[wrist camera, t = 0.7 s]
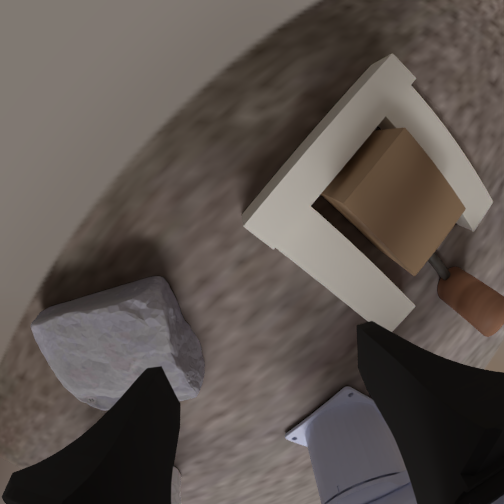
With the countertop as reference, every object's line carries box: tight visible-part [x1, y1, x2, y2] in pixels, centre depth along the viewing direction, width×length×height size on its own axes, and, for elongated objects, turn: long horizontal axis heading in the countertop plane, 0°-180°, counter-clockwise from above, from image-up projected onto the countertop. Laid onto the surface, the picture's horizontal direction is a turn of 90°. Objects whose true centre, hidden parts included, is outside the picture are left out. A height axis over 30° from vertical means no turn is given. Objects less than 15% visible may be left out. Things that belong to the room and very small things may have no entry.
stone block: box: [31, 276, 205, 410], centre depth 20 cm, size 12×5×10 cm
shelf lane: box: [242, 53, 493, 332], centre depth 17 cm, size 13×13×3 cm
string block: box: [320, 128, 504, 337], centre depth 17 cm, size 16×5×6 cm, turn 51°
